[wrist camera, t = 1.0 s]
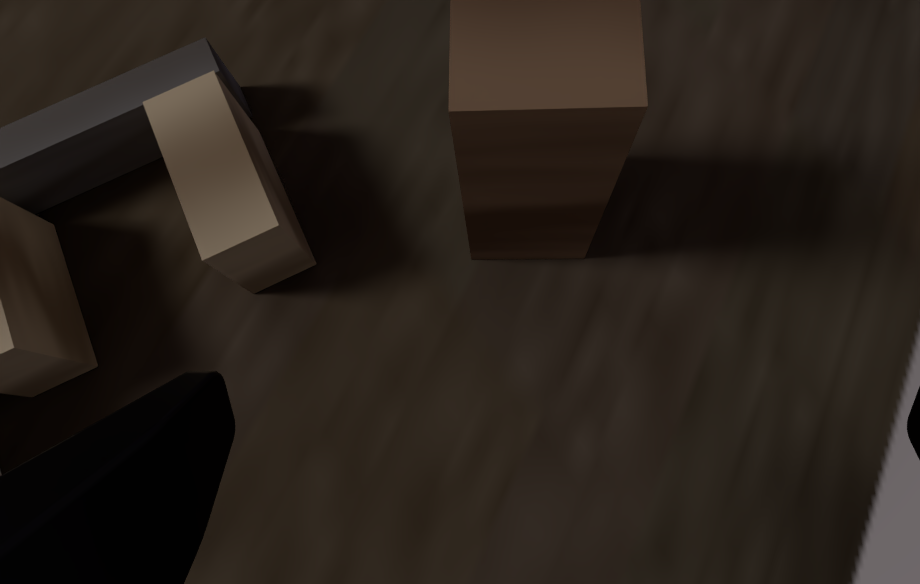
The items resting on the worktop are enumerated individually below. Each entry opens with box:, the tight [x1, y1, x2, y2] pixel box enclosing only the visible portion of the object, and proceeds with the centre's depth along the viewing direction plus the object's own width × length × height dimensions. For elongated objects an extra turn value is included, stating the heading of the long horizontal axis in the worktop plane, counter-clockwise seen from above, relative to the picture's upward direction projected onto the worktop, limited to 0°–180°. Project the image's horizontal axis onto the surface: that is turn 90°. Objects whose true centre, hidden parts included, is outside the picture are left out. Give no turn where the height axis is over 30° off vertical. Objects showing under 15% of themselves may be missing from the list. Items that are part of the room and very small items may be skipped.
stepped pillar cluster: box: [0, 38, 316, 476], centre depth 20 cm, size 14×14×6 cm
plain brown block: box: [449, 0, 648, 260], centre depth 18 cm, size 4×4×10 cm
